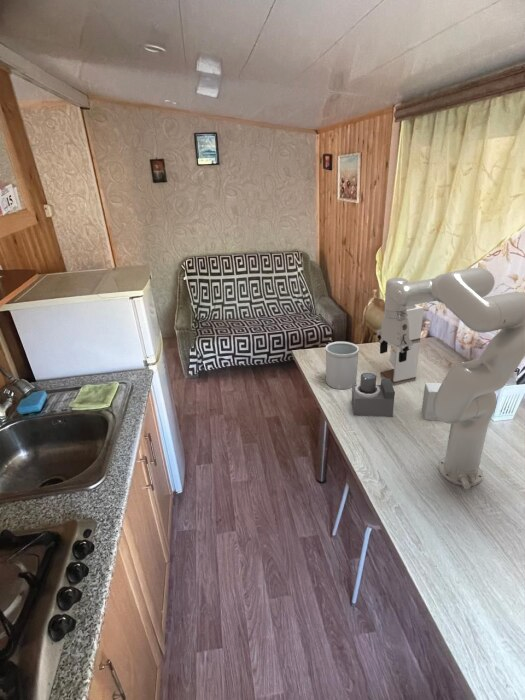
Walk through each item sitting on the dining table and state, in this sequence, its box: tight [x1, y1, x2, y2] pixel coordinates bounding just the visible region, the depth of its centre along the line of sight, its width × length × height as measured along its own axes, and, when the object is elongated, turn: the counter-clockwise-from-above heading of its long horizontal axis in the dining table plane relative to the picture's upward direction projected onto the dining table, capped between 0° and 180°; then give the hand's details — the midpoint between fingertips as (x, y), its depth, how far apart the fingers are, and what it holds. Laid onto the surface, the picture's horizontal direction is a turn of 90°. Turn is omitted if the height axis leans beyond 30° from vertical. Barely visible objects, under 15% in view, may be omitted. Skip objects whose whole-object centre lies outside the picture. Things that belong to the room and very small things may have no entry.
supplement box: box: [421, 382, 442, 422], centre depth 149 cm, size 7×7×13 cm
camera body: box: [351, 377, 396, 417], centre depth 157 cm, size 11×15×11 cm
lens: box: [359, 372, 377, 394], centre depth 154 cm, size 6×6×7 cm
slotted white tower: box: [380, 304, 425, 387], centre depth 173 cm, size 11×11×35 cm
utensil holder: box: [324, 341, 360, 390], centre depth 177 cm, size 15×15×18 cm
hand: (392, 356), depth 145 cm, fingers open, 9 cm apart
